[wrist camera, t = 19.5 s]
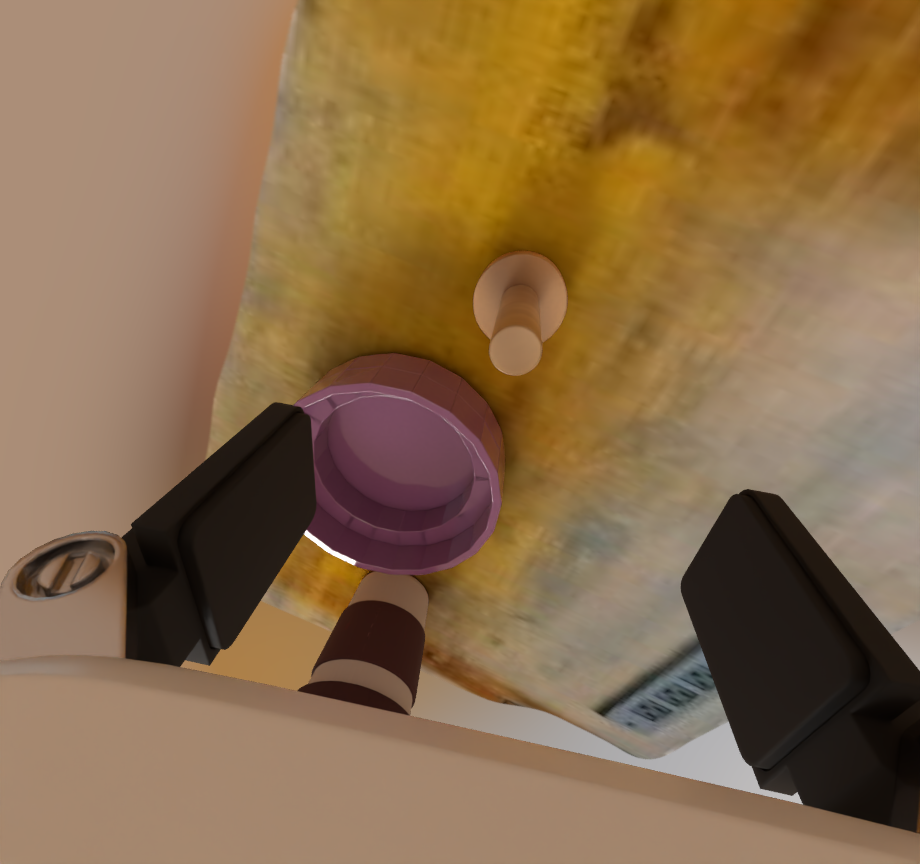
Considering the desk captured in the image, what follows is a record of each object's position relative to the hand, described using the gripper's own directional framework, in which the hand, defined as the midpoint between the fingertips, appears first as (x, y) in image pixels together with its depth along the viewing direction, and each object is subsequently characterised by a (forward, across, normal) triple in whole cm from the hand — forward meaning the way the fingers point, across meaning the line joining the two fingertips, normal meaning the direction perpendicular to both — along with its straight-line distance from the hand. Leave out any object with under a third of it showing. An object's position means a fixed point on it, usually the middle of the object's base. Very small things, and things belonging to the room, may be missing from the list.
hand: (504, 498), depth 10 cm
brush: (+20, 0, 0) cm, 20 cm away
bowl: (+20, +7, +13) cm, 25 cm away
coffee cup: (+20, +7, +31) cm, 38 cm away
